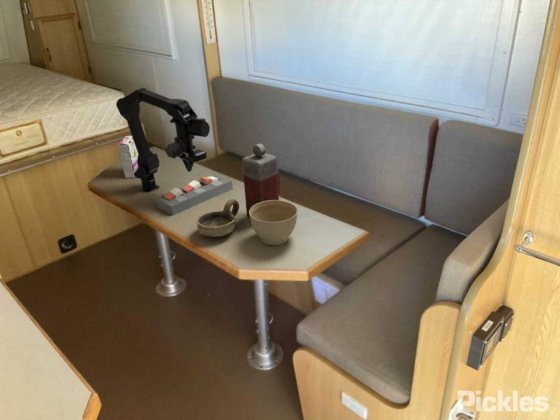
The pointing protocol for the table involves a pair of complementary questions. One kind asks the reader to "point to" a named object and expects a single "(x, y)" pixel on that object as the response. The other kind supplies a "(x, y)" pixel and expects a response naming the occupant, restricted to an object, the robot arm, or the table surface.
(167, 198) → the rocker
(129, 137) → the candy bar box
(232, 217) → the bowl
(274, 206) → the planter bowl
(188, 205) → the power board
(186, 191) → the block
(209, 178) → the rocker
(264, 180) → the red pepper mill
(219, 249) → the table surface
